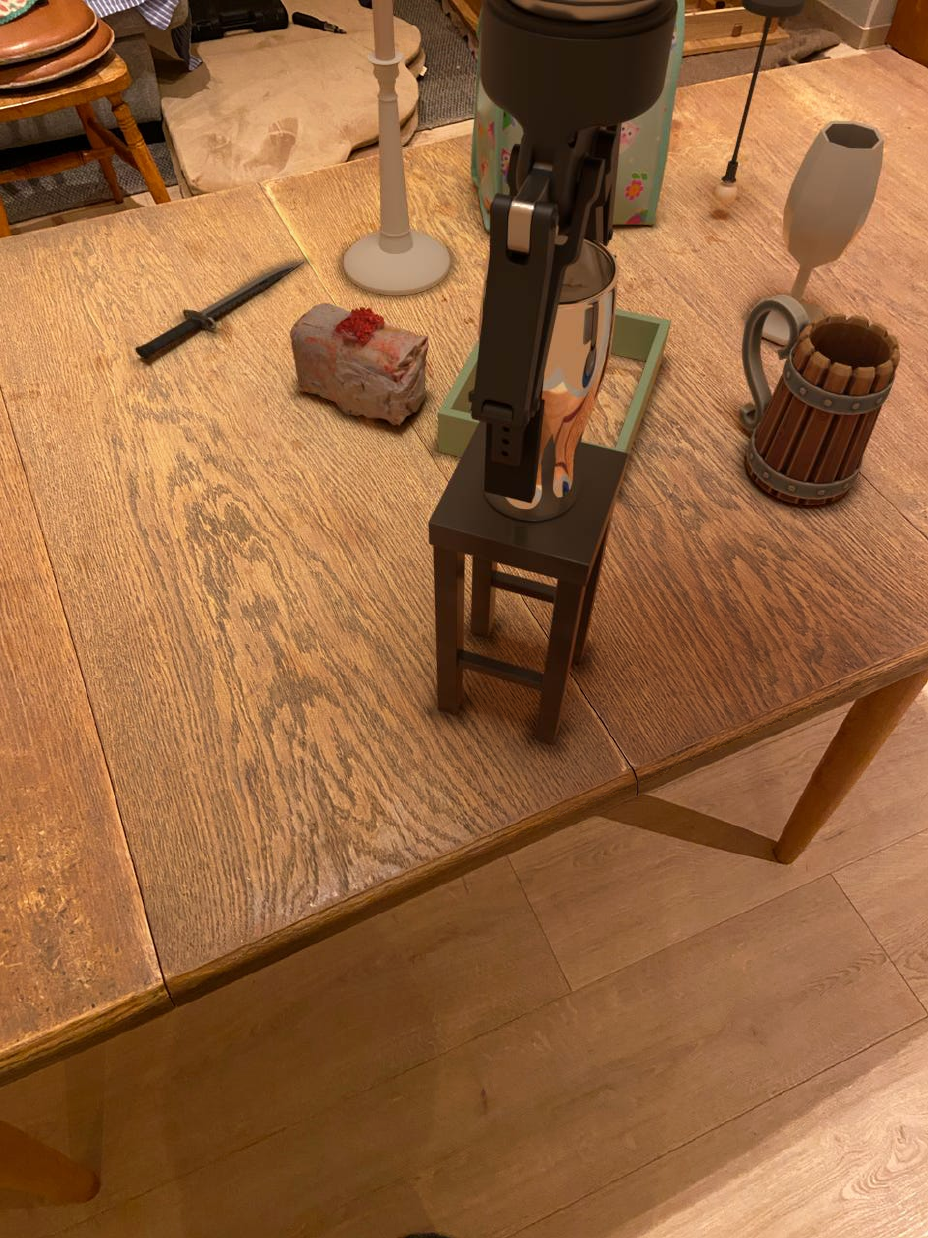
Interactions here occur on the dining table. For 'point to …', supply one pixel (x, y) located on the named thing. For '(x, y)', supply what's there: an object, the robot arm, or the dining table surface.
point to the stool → (535, 546)
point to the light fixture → (754, 81)
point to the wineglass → (827, 206)
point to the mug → (814, 401)
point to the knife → (212, 311)
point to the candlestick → (393, 193)
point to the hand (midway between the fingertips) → (537, 430)
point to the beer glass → (569, 379)
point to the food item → (360, 362)
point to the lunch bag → (637, 152)
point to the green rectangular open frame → (630, 340)
